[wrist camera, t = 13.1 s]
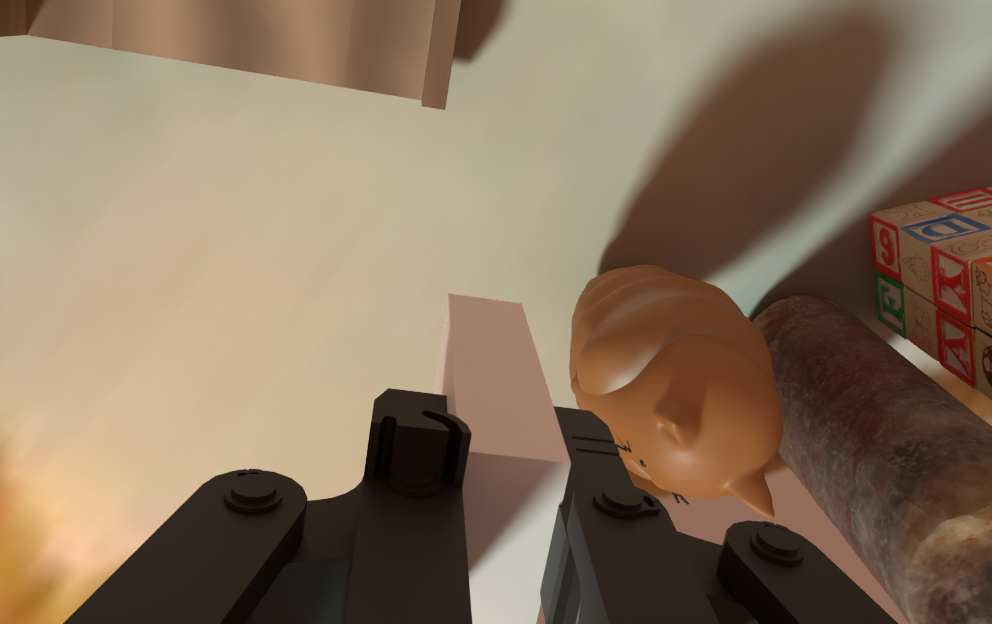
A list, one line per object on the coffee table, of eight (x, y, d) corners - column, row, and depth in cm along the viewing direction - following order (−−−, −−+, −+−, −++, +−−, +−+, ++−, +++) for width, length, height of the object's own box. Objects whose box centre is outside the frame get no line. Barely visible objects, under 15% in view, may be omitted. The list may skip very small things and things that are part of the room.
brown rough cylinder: (795, 441, 49) (1025, 710, 30) (693, 380, 48) (870, 625, 29) (882, 333, 48) (1184, 547, 29) (780, 265, 46) (1030, 446, 27)
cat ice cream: (505, 294, 45) (555, 466, 28) (616, 185, 44) (739, 298, 27) (619, 400, 48) (728, 617, 31) (728, 300, 46) (904, 471, 29)
